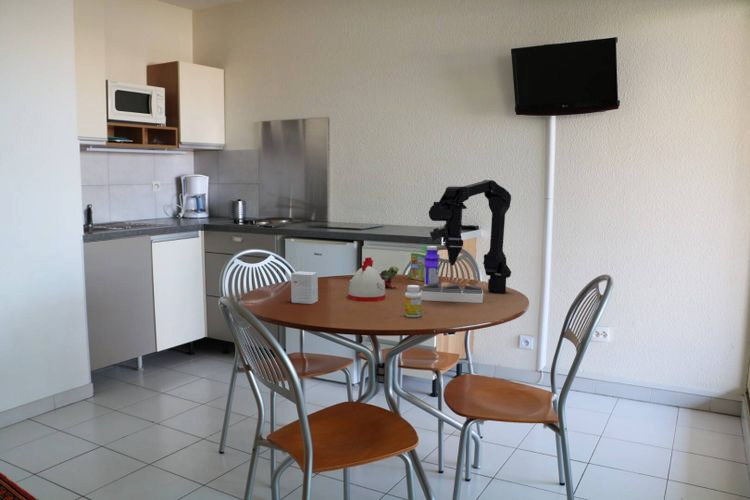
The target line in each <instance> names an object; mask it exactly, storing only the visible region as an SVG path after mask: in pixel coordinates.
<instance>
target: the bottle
mask: <svg viewBox="0 0 750 500" xmlns="http://www.w3.org/2000/svg"><path fill="white" fill-rule="evenodd" d="M426 246H427V248H426V252H427V253H426V256H425V259H426V260H425V266H424V267H425V274H424V281H423V283H424V284H423V285H427V284H433V283H438V282H439V275H438V270H440V255H439V256H438V254H439V253H438V246H436V245H426ZM438 259H439V261H438Z"/></svg>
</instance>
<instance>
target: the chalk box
mask: <svg viewBox="0 0 750 500" xmlns="http://www.w3.org/2000/svg"><path fill="white" fill-rule="evenodd" d="M427 246H428V245H422V248H421V252H411V253H410V272H409V273H410V275H409V277H410V278H409V279H411V280H415V281H419V282H424V274H425V267H424V266H425V260H426V259H425V256H426V253H427V250H426V251H425V249H427ZM438 256H439V257H440V254H439V253H438ZM438 261H439V262H440V258H439V259H438ZM439 270H440V269H439ZM439 270H438V276H440V275H439V274H440V272H439Z"/></svg>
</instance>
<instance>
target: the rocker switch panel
mask: <svg viewBox="0 0 750 500" xmlns="http://www.w3.org/2000/svg"><path fill="white" fill-rule="evenodd" d="M424 286H425V285H424V284H423V285H422V286H421V289H420V290H419V292H420V293H421V296H422V298H421V301H429V302H430V301H433V302H449V303H450V302H455V303H472V304H473V303H475V304H483V303H484V290H483V287H480V290H469V289H465V286H463V287H462V286H459V288H458V289H445V288H444V287H445V286H446V285H439V287H438V288H424Z"/></svg>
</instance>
